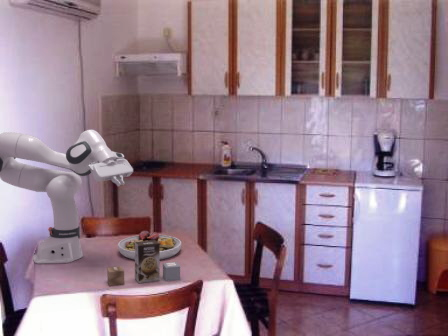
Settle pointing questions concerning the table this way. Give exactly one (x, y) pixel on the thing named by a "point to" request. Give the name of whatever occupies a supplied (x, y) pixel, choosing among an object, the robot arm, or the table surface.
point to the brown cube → (115, 276)
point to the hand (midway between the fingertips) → (121, 185)
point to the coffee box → (147, 261)
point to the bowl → (167, 243)
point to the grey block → (171, 271)
